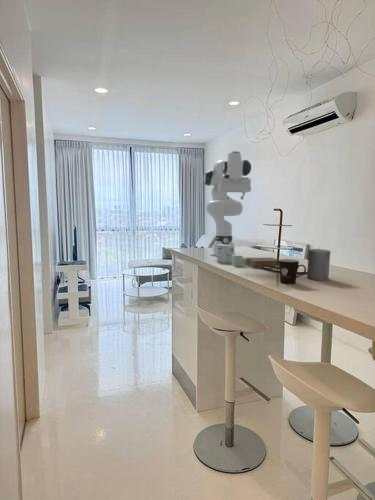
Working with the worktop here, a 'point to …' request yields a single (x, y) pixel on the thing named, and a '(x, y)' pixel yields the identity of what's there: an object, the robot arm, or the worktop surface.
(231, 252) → the light bulb box
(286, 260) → the coffee mug
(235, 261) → the sage block
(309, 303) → the worktop surface
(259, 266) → the walnut plinth
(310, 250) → the pillar candle
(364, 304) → the worktop surface
